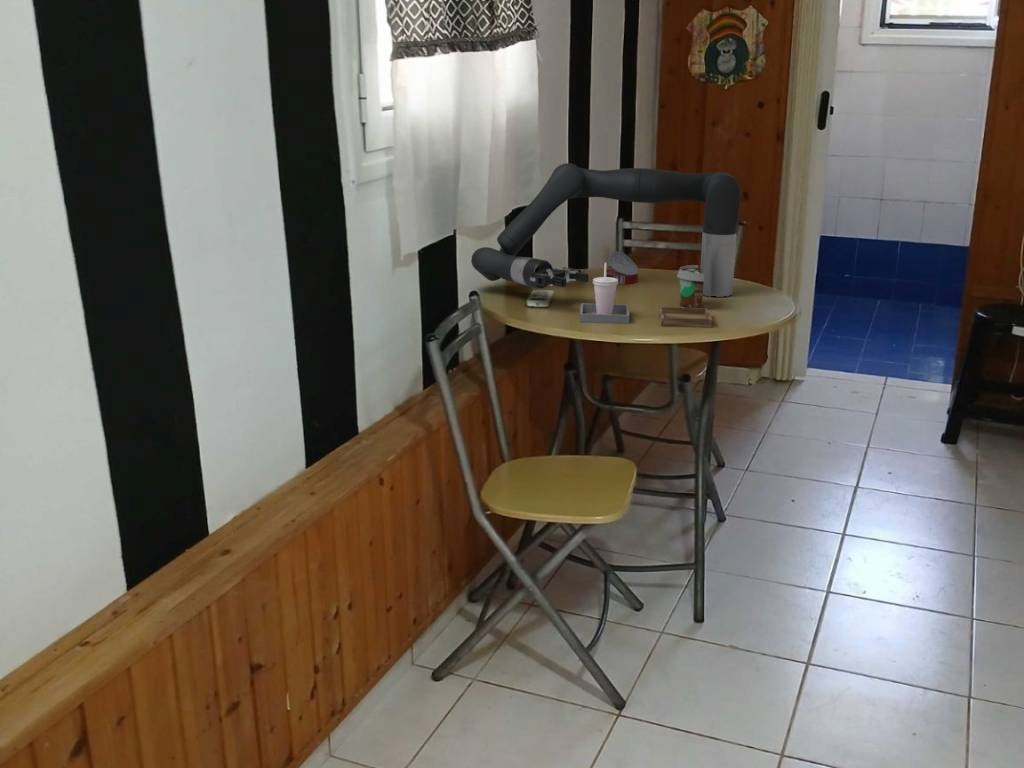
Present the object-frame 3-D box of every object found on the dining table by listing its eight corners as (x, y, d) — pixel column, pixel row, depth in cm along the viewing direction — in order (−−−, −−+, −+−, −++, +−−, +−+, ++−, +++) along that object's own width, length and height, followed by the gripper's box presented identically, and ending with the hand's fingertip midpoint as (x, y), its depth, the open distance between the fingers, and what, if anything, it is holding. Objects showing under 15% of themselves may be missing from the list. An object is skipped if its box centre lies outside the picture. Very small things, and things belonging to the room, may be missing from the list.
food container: (673, 300, 283) (675, 264, 280) (695, 301, 283) (698, 264, 280) (678, 311, 271) (680, 273, 269) (702, 311, 271) (704, 273, 268)
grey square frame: (580, 310, 271) (580, 303, 270) (627, 312, 270) (628, 304, 269) (579, 322, 259) (579, 314, 259) (629, 323, 258) (629, 315, 258)
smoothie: (588, 318, 263) (590, 263, 259) (595, 313, 269) (597, 259, 264) (613, 320, 261) (615, 265, 257) (619, 315, 267) (621, 261, 262)
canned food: (628, 294, 314) (645, 264, 312) (631, 297, 304) (648, 267, 302) (595, 275, 313) (612, 246, 311) (597, 278, 303) (614, 248, 301)
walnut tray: (658, 314, 268) (659, 307, 267) (706, 315, 267) (707, 308, 266) (661, 326, 256) (661, 318, 255) (711, 327, 255) (712, 319, 254)
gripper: (512, 261, 274) (558, 270, 263) (549, 255, 284) (595, 262, 273) (512, 289, 276) (557, 299, 265) (549, 282, 286) (594, 291, 275)
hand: (576, 280), depth 269 cm, fingers open, 8 cm apart
